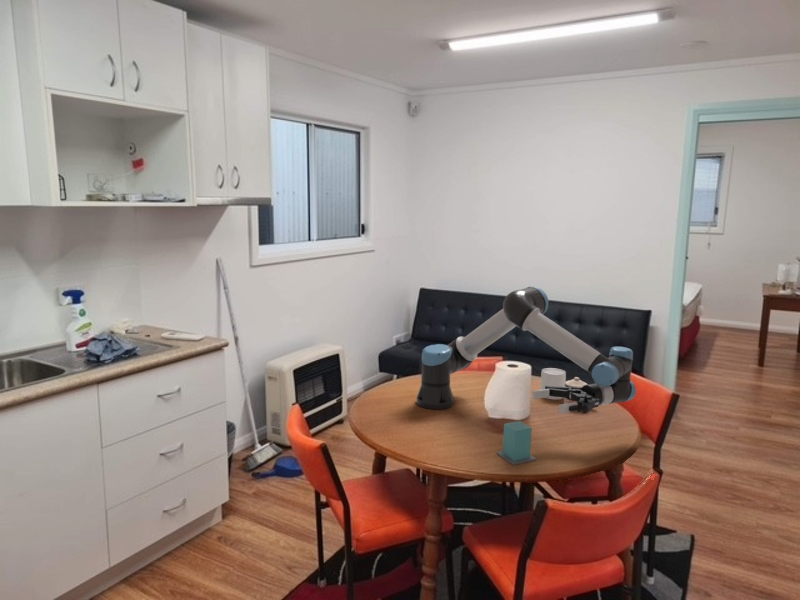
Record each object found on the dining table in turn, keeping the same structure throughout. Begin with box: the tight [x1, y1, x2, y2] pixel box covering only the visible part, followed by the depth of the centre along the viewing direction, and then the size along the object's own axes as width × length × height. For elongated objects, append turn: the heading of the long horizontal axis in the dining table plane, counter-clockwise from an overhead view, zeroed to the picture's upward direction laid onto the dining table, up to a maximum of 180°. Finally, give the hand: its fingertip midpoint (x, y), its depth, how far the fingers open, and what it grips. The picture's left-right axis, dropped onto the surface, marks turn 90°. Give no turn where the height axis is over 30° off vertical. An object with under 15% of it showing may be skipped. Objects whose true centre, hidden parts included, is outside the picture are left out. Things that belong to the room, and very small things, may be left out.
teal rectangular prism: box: [502, 420, 533, 461], centre depth 182 cm, size 6×6×10 cm
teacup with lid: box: [563, 376, 588, 405], centre depth 230 cm, size 12×9×12 cm
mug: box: [539, 367, 567, 400], centre depth 244 cm, size 14×10×11 cm
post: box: [496, 450, 537, 466], centre depth 183 cm, size 9×9×8 cm
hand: (545, 401), depth 186 cm, fingers open, 13 cm apart
